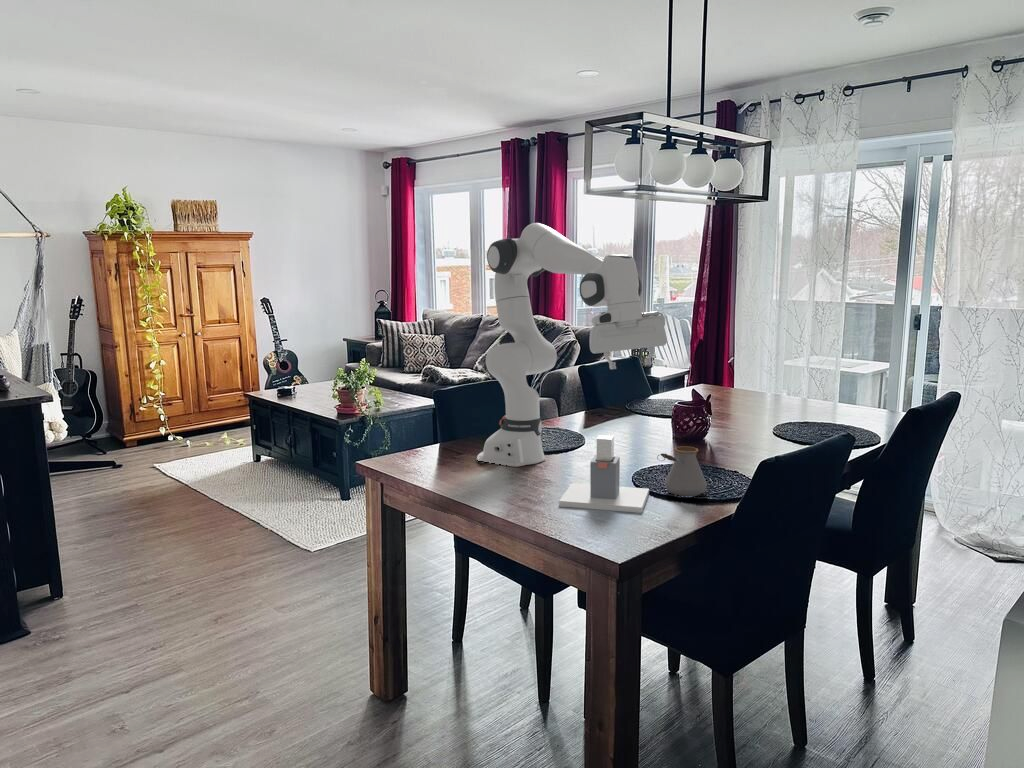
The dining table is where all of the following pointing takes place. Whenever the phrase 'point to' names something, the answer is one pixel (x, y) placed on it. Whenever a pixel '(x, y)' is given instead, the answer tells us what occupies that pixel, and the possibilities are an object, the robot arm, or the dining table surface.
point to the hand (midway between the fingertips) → (630, 367)
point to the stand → (605, 490)
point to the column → (605, 448)
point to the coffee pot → (685, 473)
